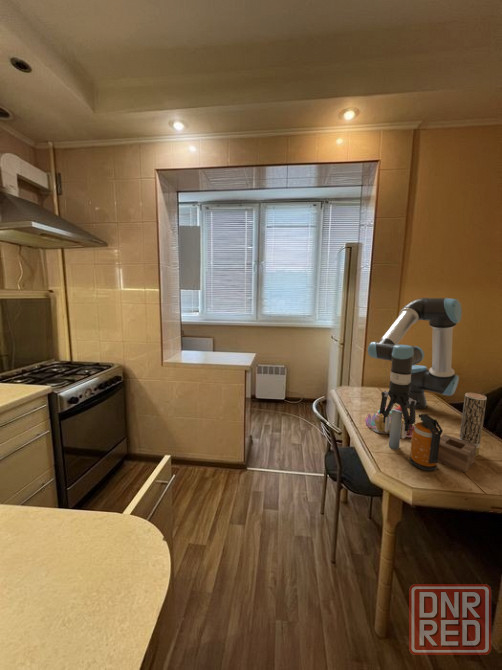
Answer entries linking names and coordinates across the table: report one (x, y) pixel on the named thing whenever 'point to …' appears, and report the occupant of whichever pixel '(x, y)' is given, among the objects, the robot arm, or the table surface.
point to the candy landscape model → (379, 425)
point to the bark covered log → (473, 419)
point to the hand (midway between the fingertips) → (395, 433)
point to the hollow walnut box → (456, 452)
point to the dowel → (395, 429)
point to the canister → (425, 443)
